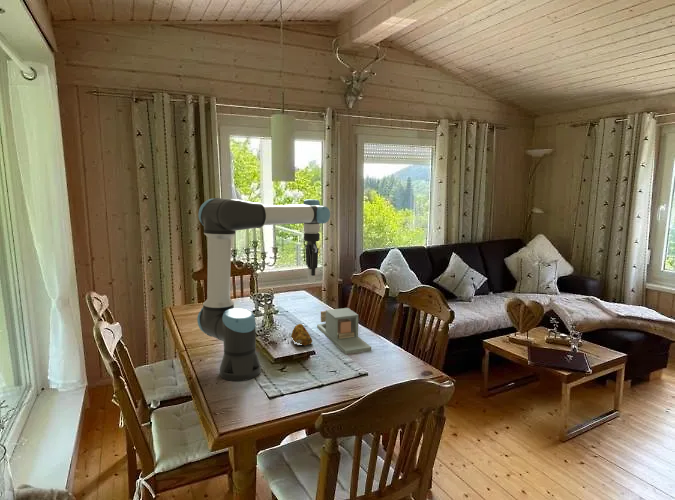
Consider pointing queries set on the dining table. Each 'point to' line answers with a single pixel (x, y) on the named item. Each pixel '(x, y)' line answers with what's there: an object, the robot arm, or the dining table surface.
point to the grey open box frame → (339, 336)
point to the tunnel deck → (331, 331)
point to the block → (344, 326)
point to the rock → (301, 335)
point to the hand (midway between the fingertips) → (311, 281)
